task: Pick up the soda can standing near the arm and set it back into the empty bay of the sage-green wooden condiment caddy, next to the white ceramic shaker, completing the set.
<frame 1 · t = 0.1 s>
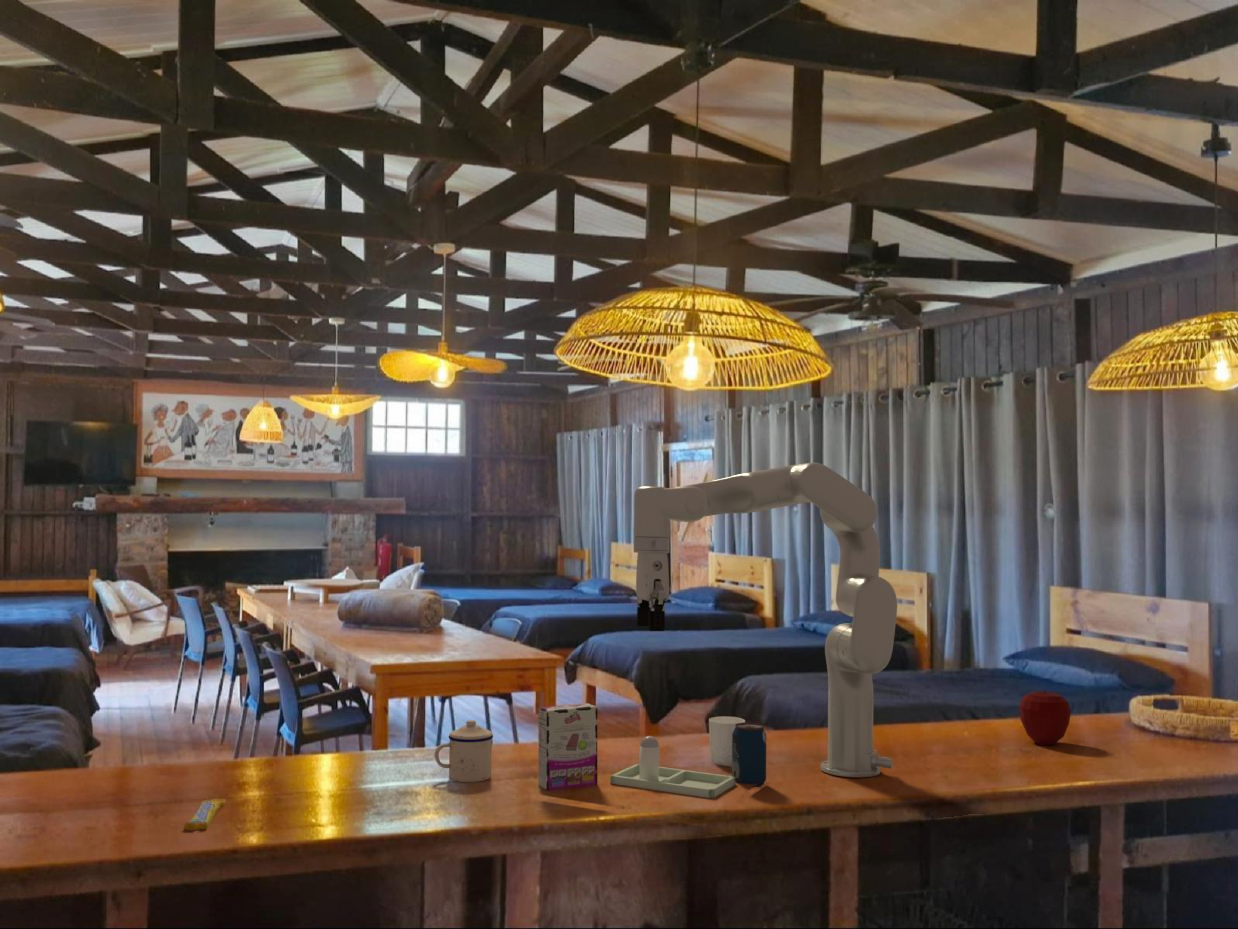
hand: (650, 628, 223), 31 cm above the table, tool pointing down, fingers open, 9 cm apart
apple: (1045, 744, 263), on the table
candy bar: (204, 821, 190), on the table
soda can: (748, 785, 219), on the table
caddy: (672, 789, 214), on the table
teacup with lid: (463, 779, 221), on the table
shaker: (649, 780, 217), point 1 cm above the table, touching caddy
candy bar box: (567, 790, 213), on the table
white cup: (726, 766, 235), on the table
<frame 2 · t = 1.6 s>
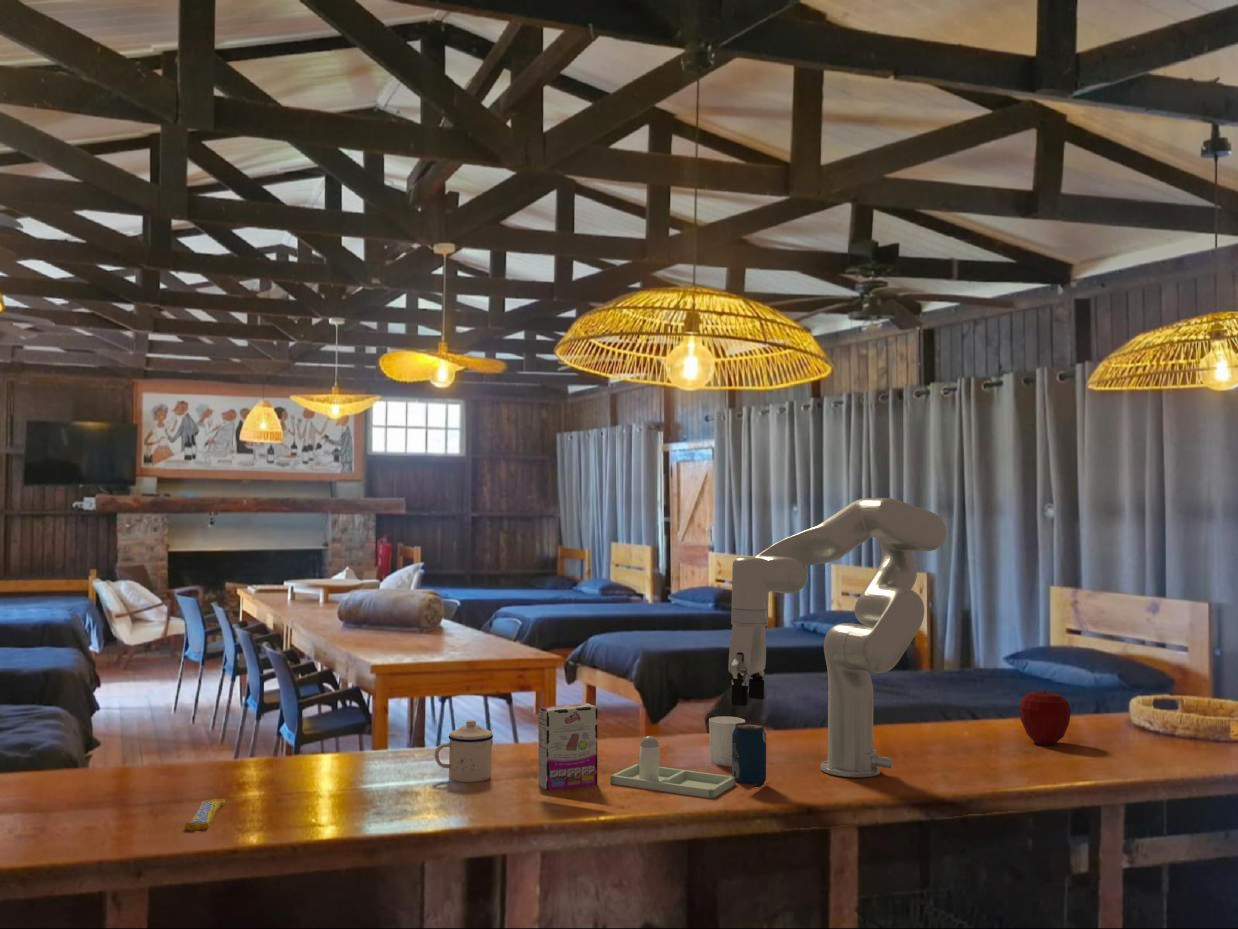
hand: (748, 702, 219), 17 cm above the table, tool pointing down, fingers open, 9 cm apart
nothing on the table moved.
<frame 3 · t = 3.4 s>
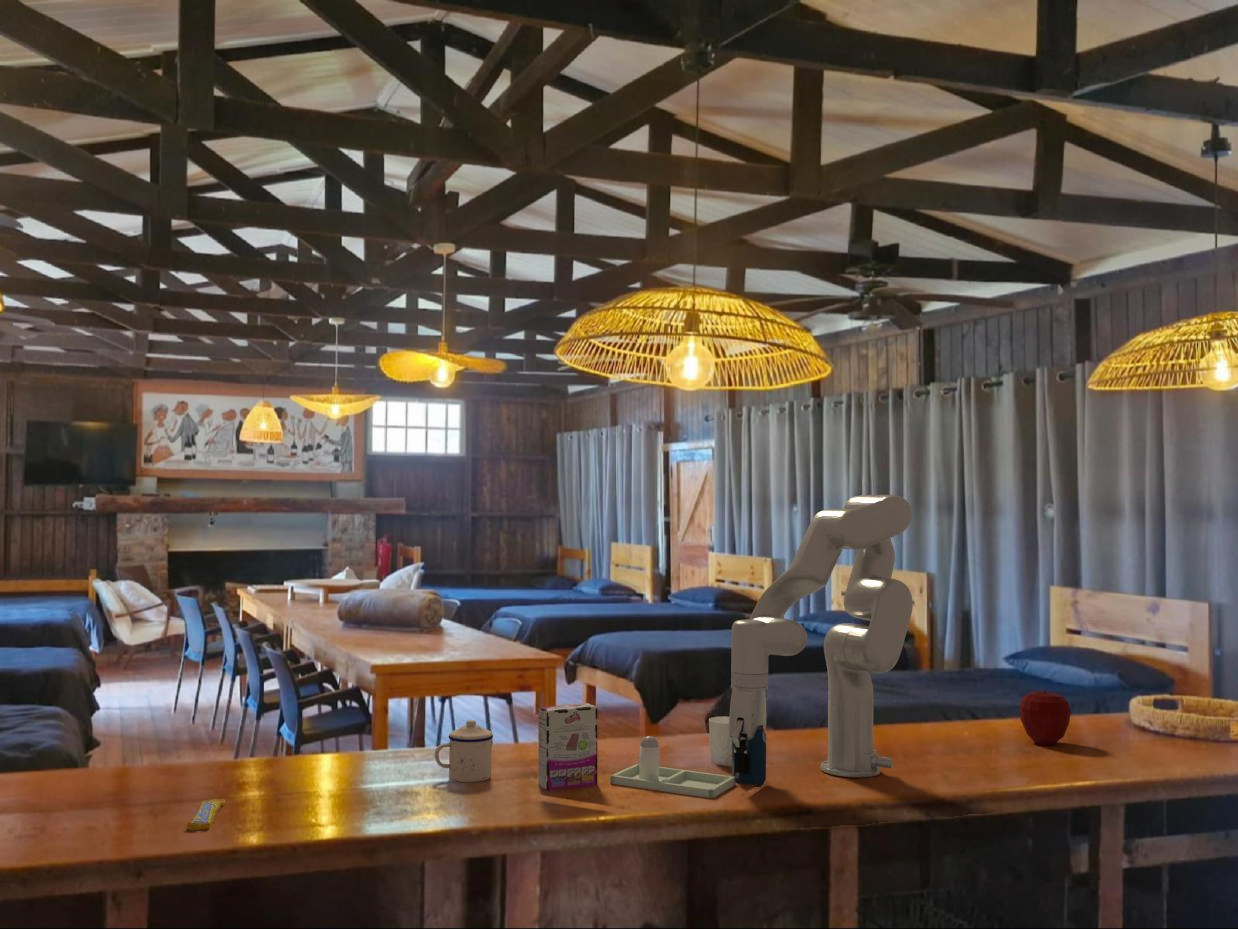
hand: (748, 768, 219), 3 cm above the table, tool pointing down, fingers closed on soda can, 7 cm apart
soda can: (748, 785, 218), on the table, touching gripper
everything else where it was.
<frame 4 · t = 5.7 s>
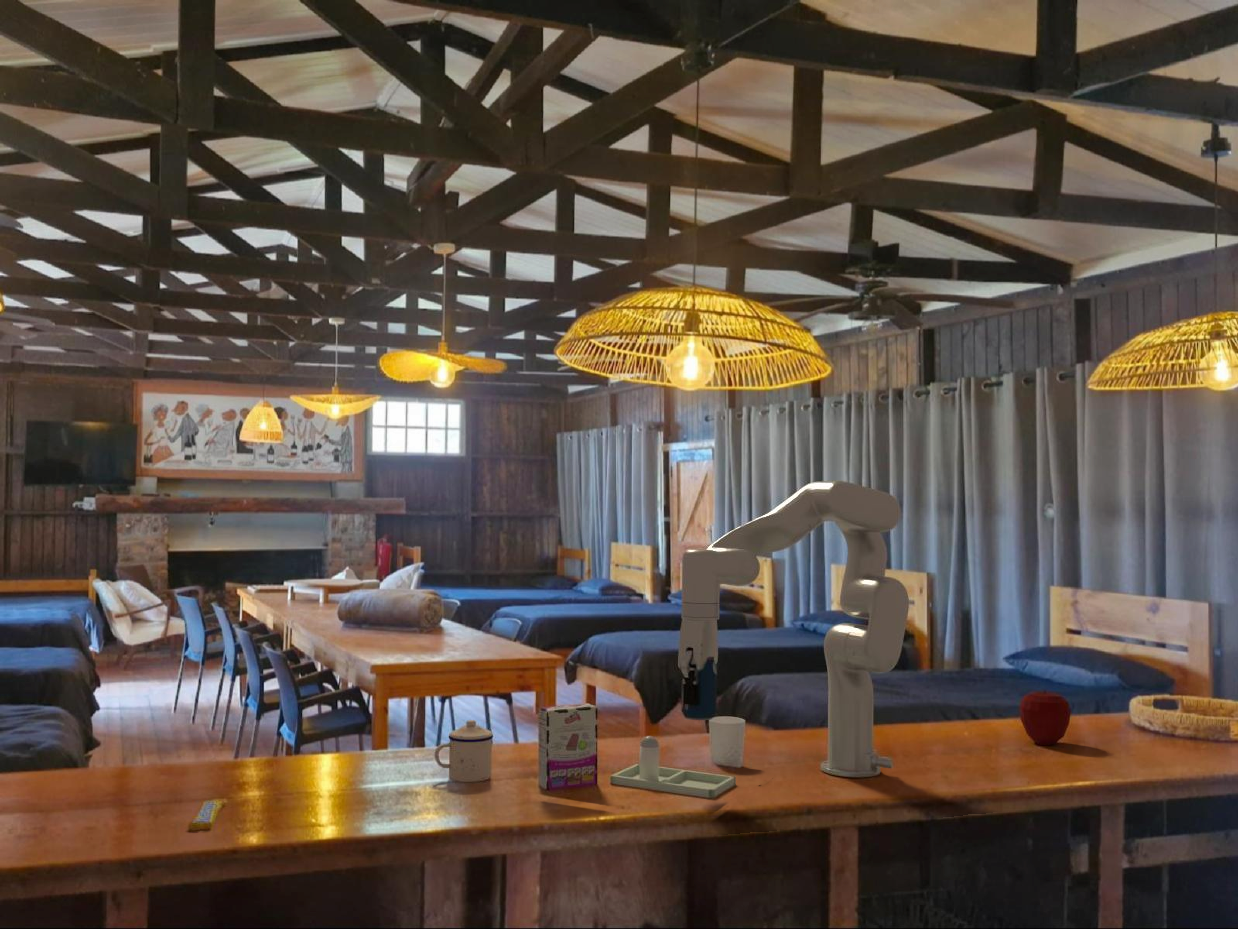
hand: (699, 701, 213), 18 cm above the table, tool pointing down, fingers closed on soda can, 6 cm apart
soda can: (698, 718, 213), point 14 cm above the table, touching gripper
everything else where it was.
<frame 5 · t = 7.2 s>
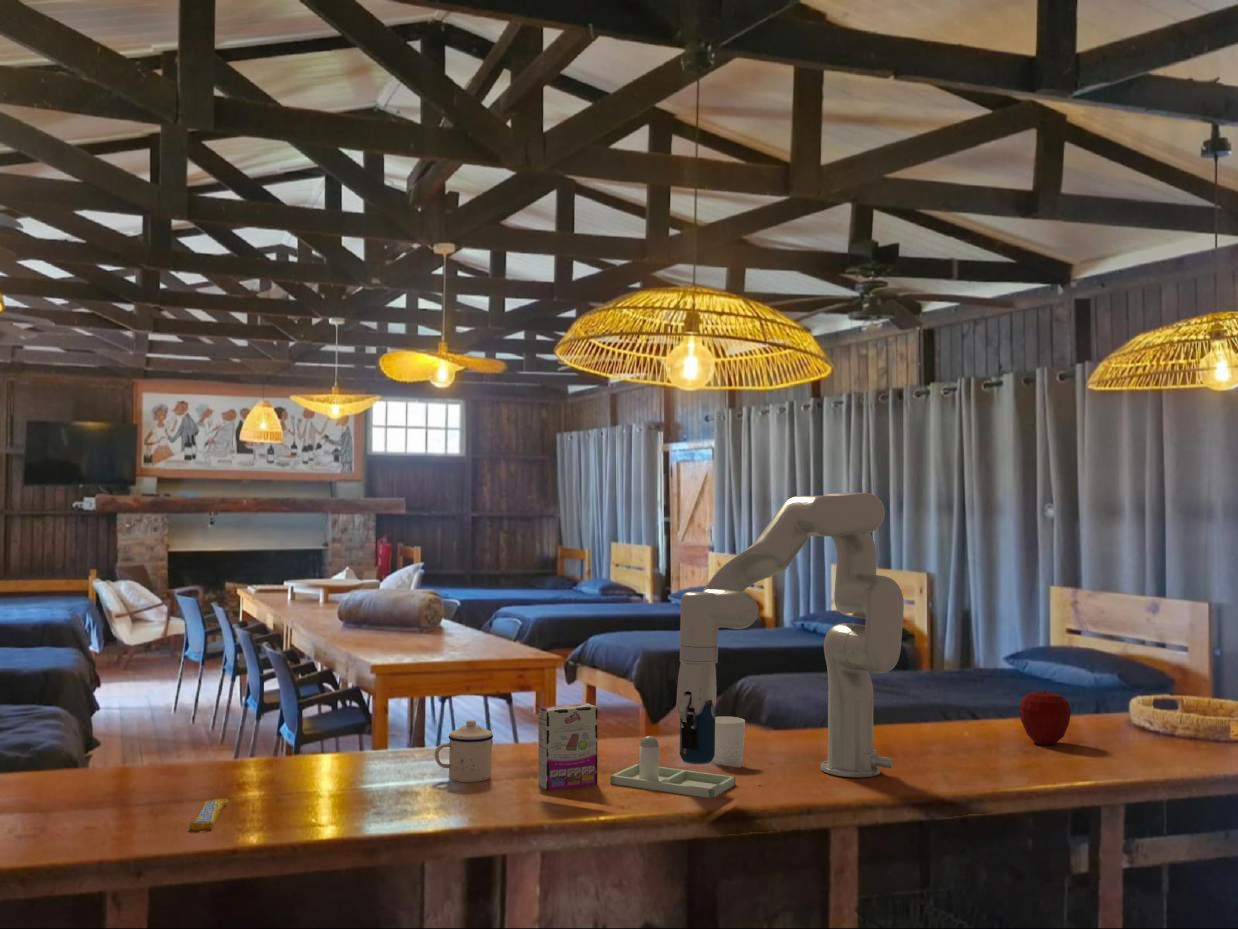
hand: (697, 744, 212), 9 cm above the table, tool pointing down, fingers closed on soda can, 6 cm apart
soda can: (696, 762, 212), point 6 cm above the table, touching gripper
everything else where it was.
when the fingers open (6 cm above the table, at t = 8.5 s): soda can drops 1 cm, resting on caddy.
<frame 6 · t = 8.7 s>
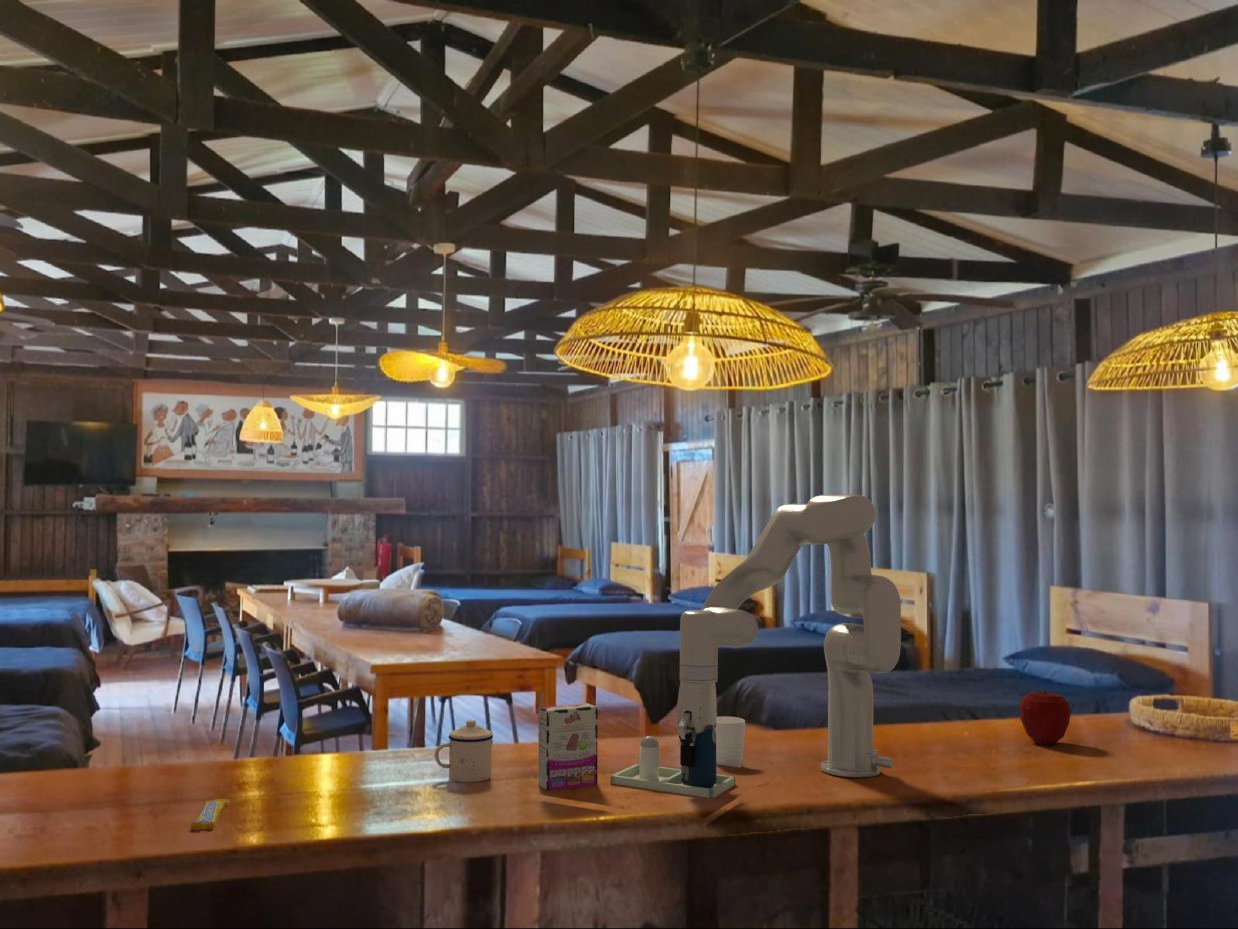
hand: (697, 761, 212), 6 cm above the table, tool pointing down, fingers open, 8 cm apart
soda can: (698, 788, 212), point 1 cm above the table, touching caddy
everything else where it was.
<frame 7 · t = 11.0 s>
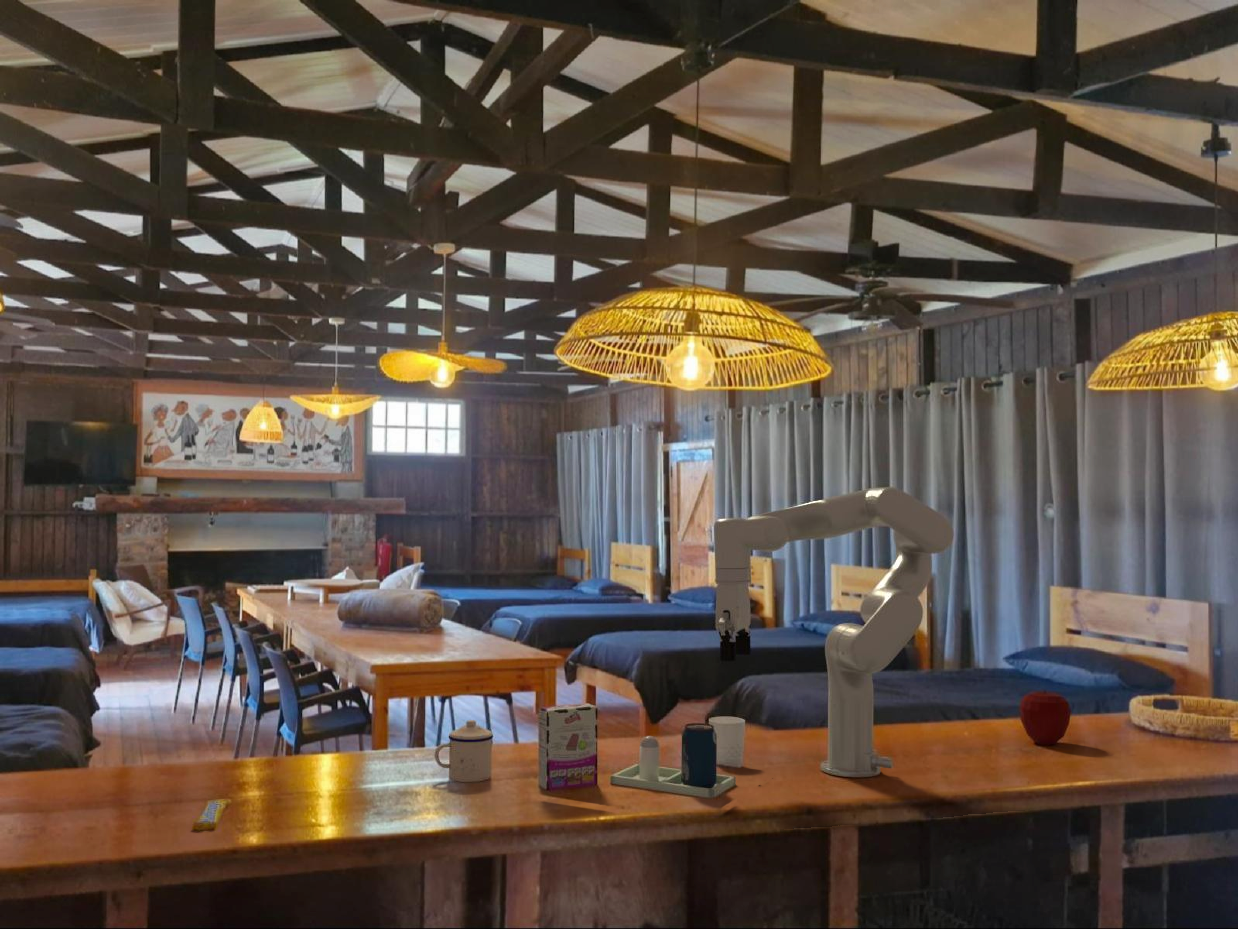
hand: (736, 657, 227), 25 cm above the table, tool pointing down, fingers open, 9 cm apart
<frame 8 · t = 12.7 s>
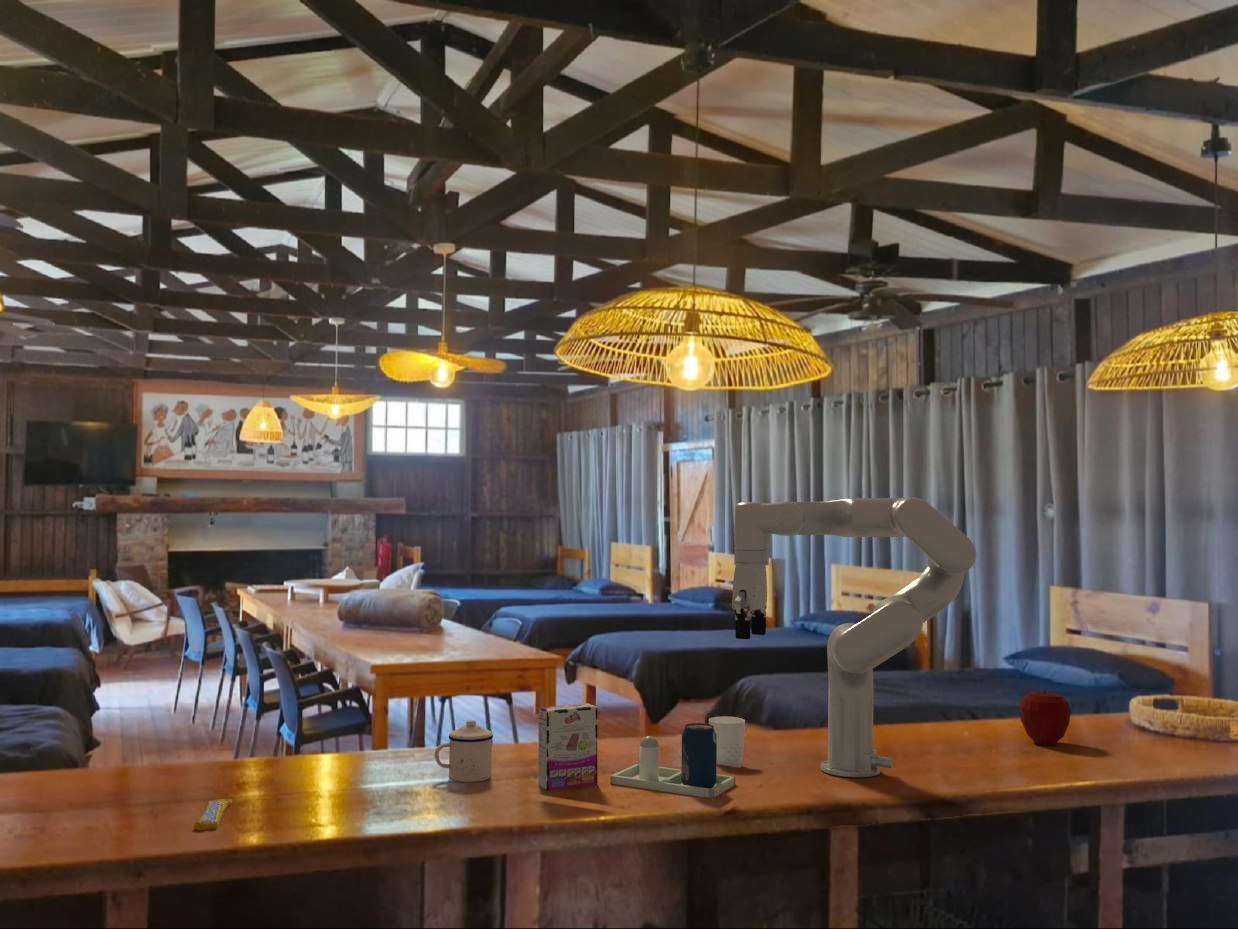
hand: (750, 636, 235), 28 cm above the table, tool pointing down, fingers open, 9 cm apart
at the end: soda can inside the target area on the caddy (0.4 cm from its centre), point 0.8 cm above the caddy's base; soda can tilted 0°; the gripper is holding nothing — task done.
